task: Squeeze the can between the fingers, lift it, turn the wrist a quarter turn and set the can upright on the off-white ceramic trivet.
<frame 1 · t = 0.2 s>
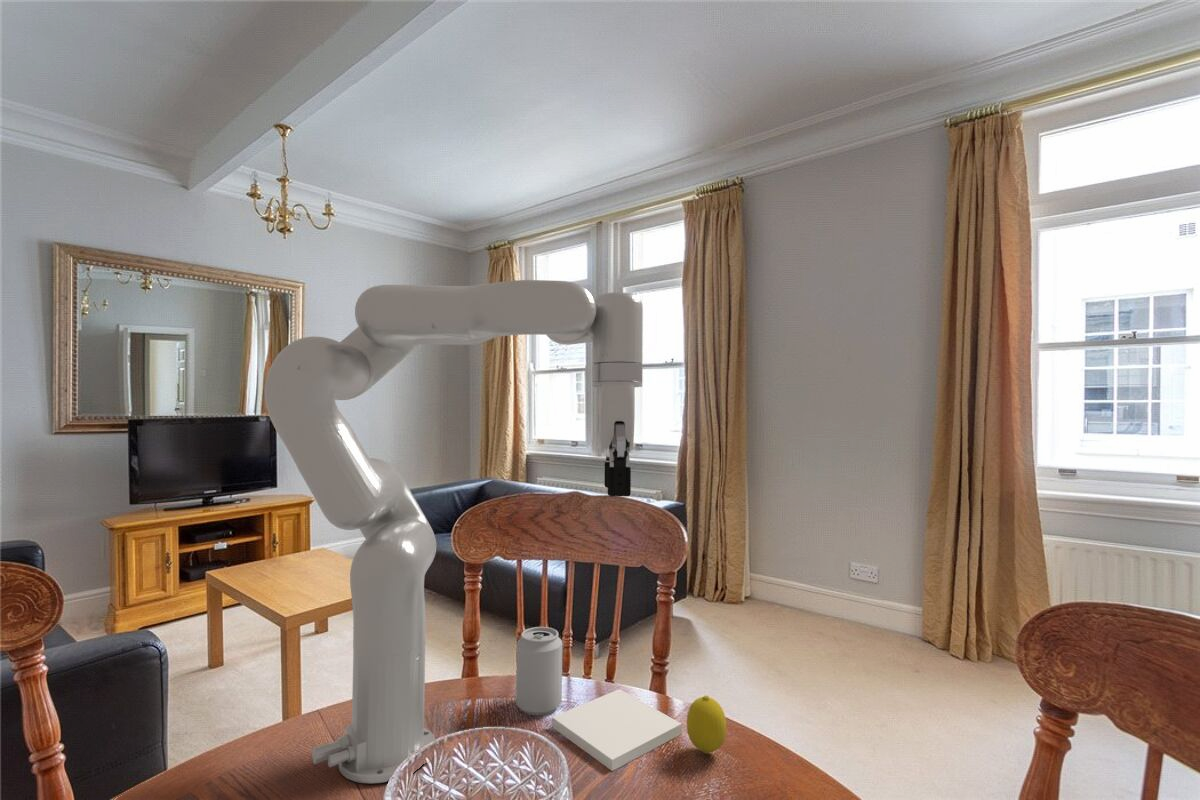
hand: (616, 491, 83), 37 cm above the table, tool pointing down, fingers open, 9 cm apart
trivet: (616, 730, 85), on the table
can: (538, 707, 92), on the table
lemon: (706, 754, 80), on the table
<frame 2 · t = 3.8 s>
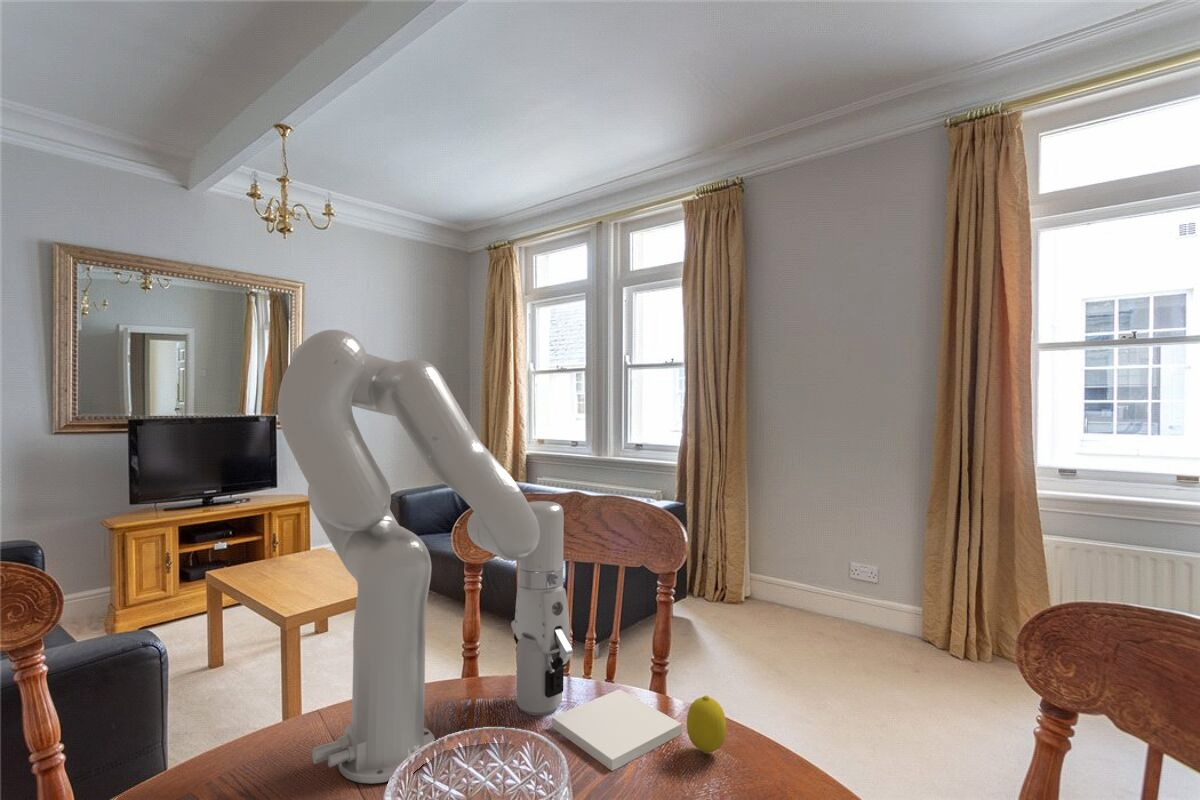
hand: (539, 684, 92), 3 cm above the table, tool pointing down, fingers closed on can, 7 cm apart
can: (539, 707, 92), on the table, touching gripper
everything else where it was.
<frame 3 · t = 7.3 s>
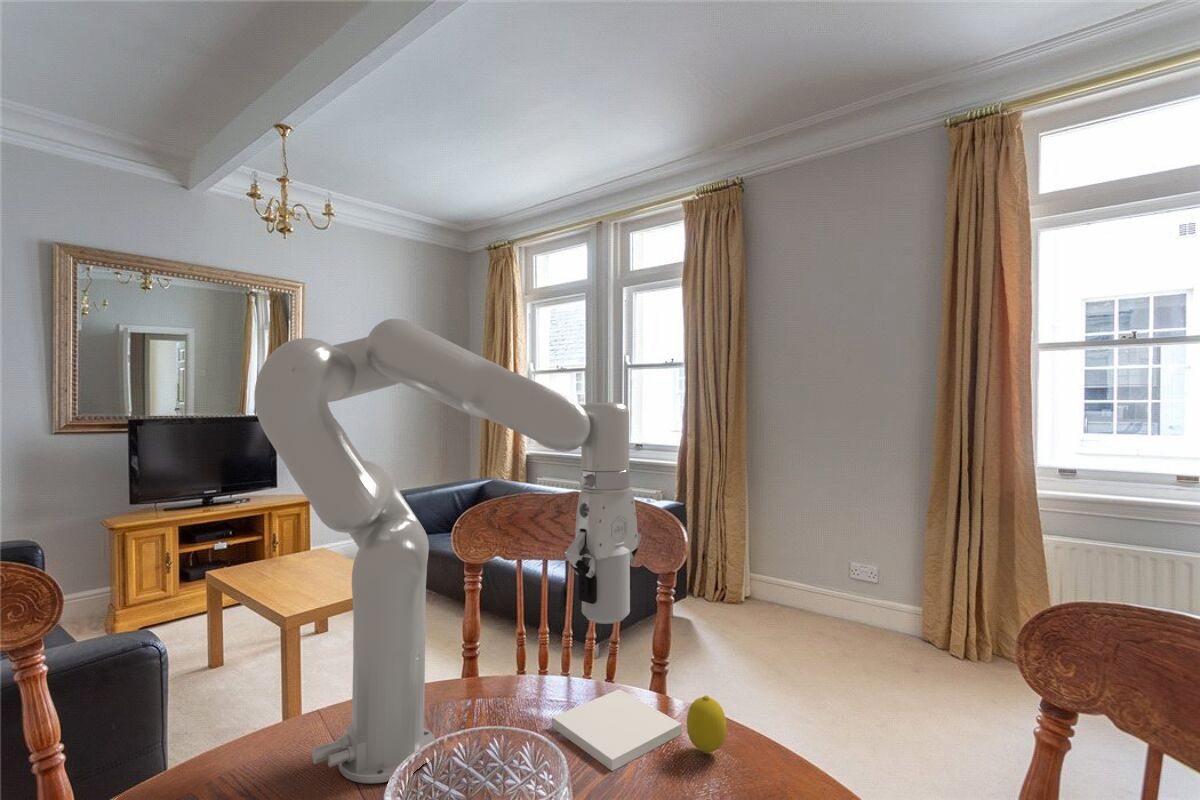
hand: (605, 594, 87), 20 cm above the table, tool pointing down, fingers closed on can, 7 cm apart
can: (605, 618, 87), point 16 cm above the table, touching gripper
everything else where it was.
when the fingers open (6 cm above the table, at t = 10.7 s): can drops 1 cm, resting on trivet.
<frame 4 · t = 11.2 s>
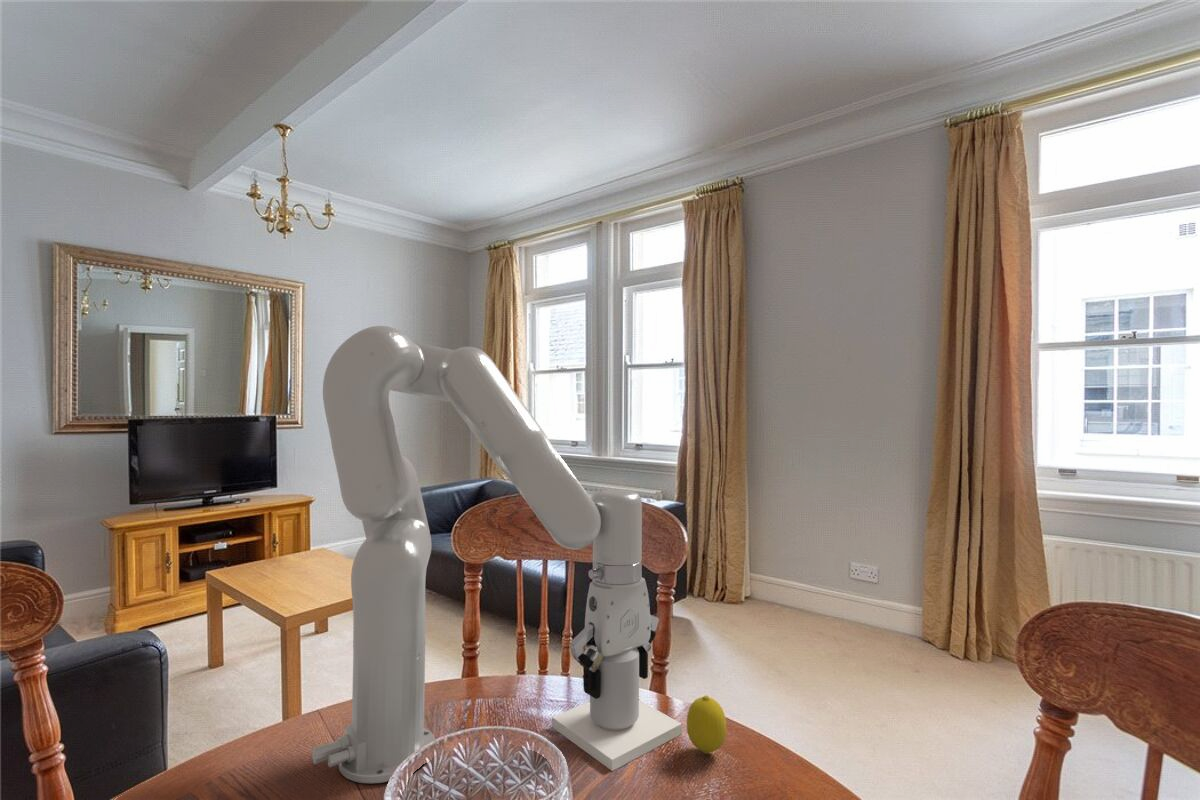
hand: (616, 684, 85), 7 cm above the table, tool pointing down, fingers open, 9 cm apart
can: (614, 721, 85), point 1 cm above the table, touching trivet
everything else where it was.
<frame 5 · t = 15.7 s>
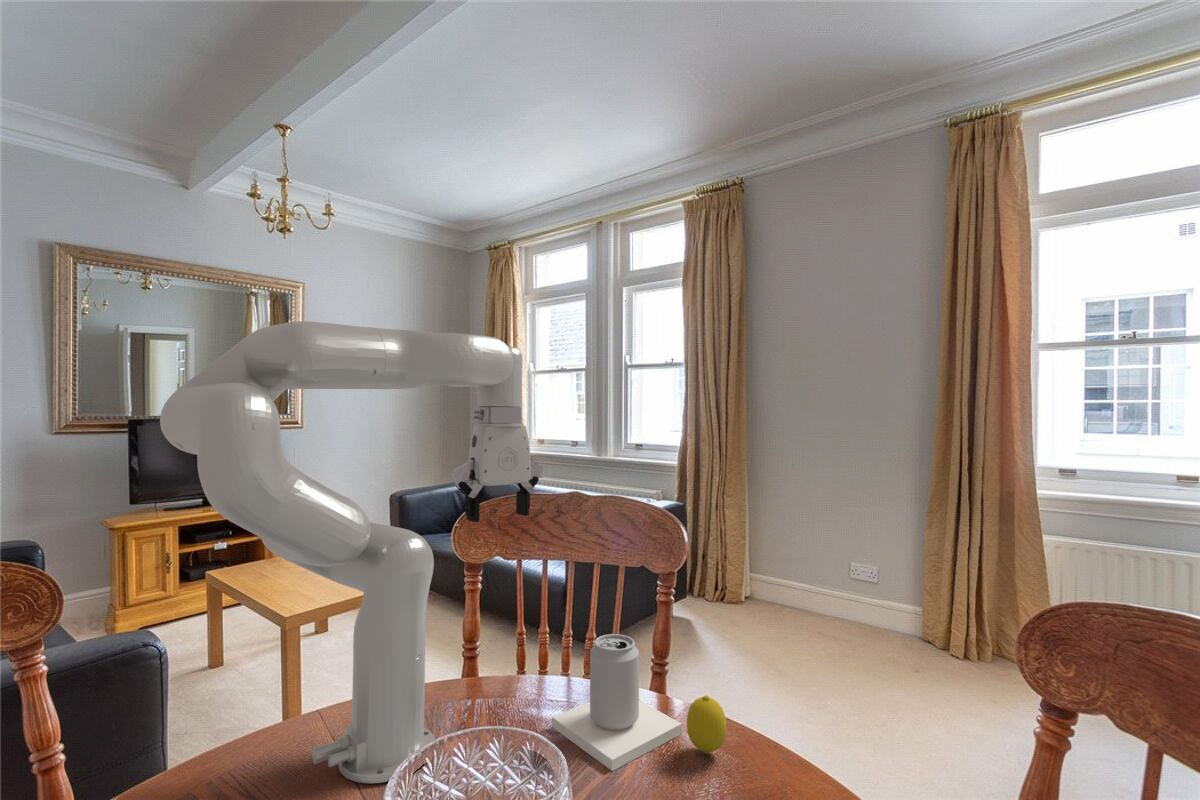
hand: (498, 517, 96), 30 cm above the table, tool pointing down, fingers open, 9 cm apart
nothing on the table moved.
at the end: can inside the target area on the trivet (0.4 cm from its centre), point 1.3 cm above the trivet's base; can tilted 0°; the gripper is holding nothing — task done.
